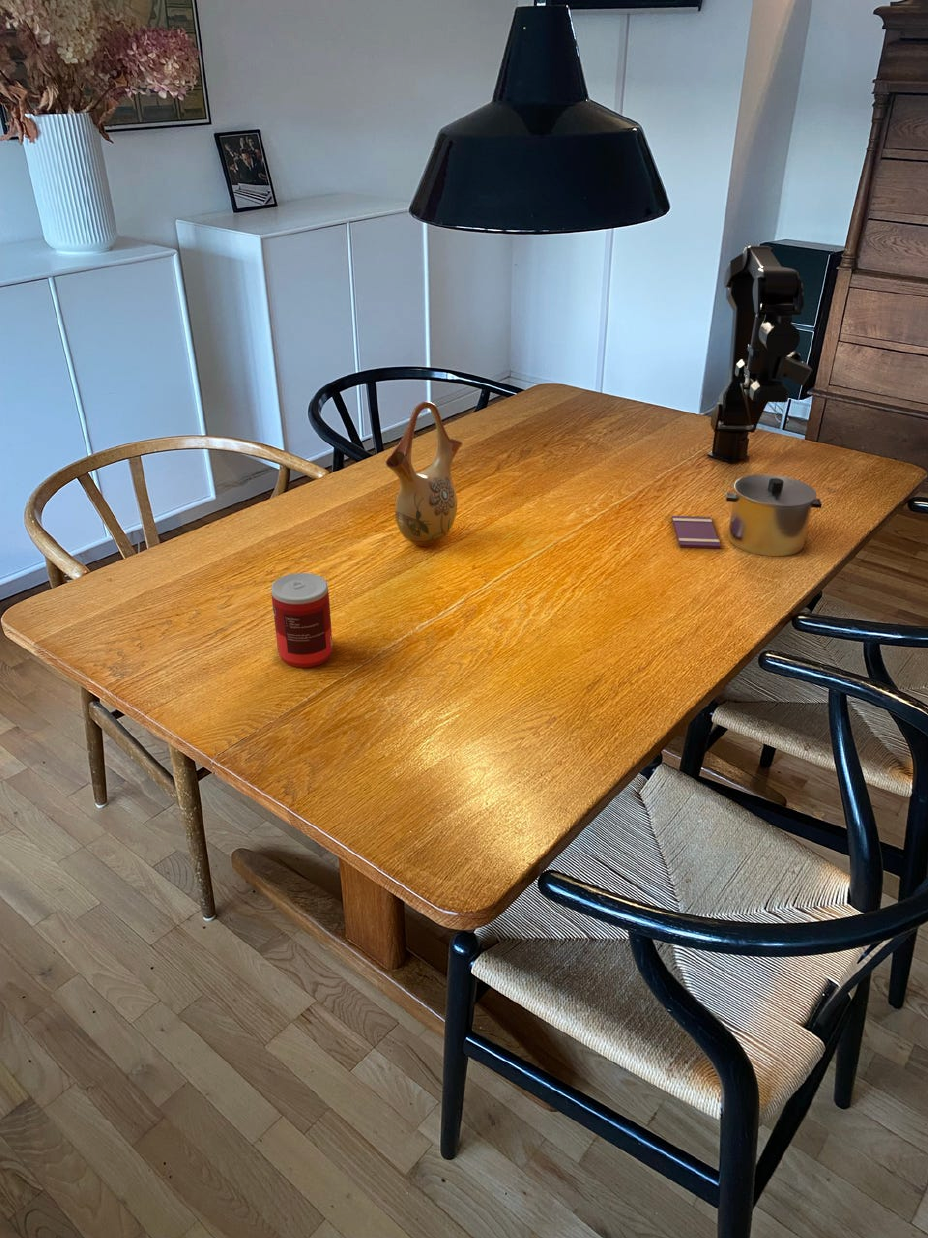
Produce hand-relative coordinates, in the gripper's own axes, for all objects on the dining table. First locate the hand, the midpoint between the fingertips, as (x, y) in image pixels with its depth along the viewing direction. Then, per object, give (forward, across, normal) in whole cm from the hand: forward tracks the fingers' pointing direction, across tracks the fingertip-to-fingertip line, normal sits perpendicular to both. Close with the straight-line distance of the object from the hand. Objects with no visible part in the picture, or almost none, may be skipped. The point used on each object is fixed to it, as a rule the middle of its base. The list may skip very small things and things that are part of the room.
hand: (753, 424), depth 178 cm
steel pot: (+13, -24, 0) cm, 27 cm away
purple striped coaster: (+13, -22, +12) cm, 28 cm away
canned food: (+13, -66, +74) cm, 100 cm away
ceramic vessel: (+13, -29, +60) cm, 68 cm away
